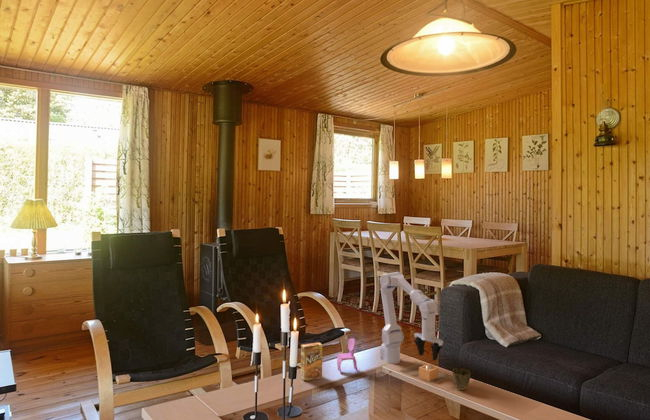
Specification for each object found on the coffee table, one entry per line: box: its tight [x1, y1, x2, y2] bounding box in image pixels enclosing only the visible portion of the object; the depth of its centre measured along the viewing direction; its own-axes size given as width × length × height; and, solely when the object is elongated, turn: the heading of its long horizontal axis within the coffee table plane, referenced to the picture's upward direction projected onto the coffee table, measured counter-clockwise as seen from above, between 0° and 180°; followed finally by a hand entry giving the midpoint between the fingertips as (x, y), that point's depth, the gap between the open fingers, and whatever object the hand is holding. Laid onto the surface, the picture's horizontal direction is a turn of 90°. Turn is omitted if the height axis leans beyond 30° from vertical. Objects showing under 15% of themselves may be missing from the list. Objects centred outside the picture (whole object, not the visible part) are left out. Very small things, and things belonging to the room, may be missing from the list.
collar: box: [419, 363, 439, 381], centre depth 205 cm, size 6×6×4 cm
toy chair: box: [336, 337, 359, 374], centre depth 215 cm, size 8×9×15 cm
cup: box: [451, 367, 472, 392], centre depth 195 cm, size 8×7×8 cm
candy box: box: [300, 341, 323, 381], centre depth 206 cm, size 9×4×15 cm, turn 113°
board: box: [397, 363, 453, 385], centre depth 210 cm, size 20×14×1 cm
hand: (428, 357), depth 207 cm, fingers open, 7 cm apart
